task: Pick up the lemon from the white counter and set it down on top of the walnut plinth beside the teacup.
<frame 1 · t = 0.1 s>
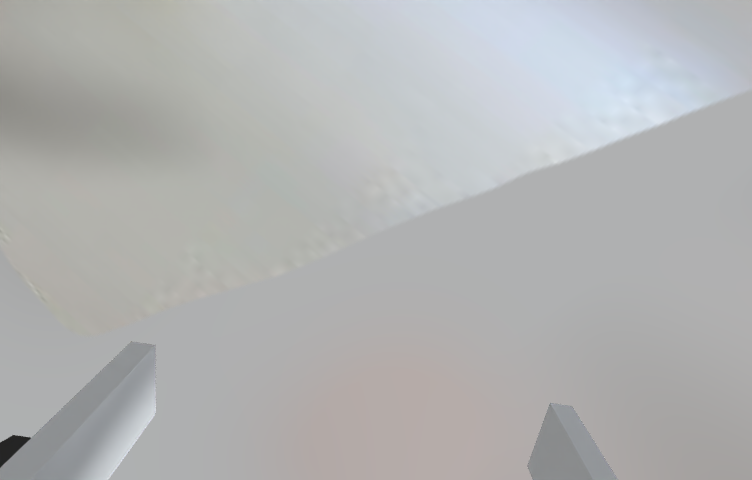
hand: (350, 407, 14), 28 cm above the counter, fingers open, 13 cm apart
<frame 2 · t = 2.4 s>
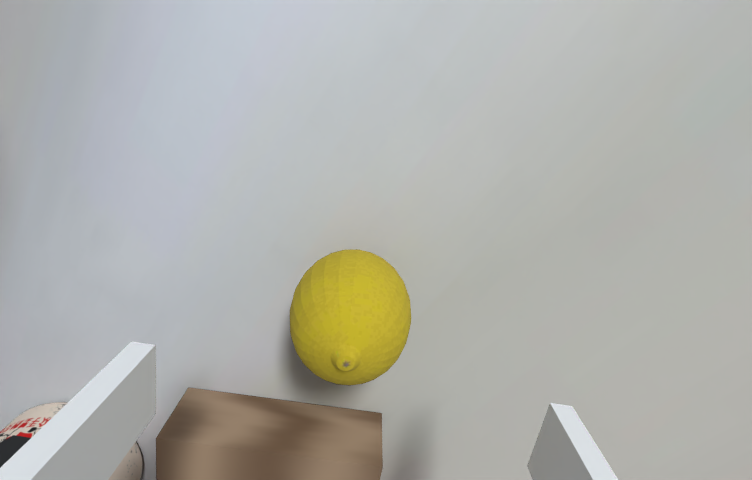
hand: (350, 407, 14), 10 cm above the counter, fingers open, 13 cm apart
walnut plinth: (277, 473, 28), on the counter
lemon: (355, 275, 23), on the counter
teacup with lid: (58, 450, 28), on the counter
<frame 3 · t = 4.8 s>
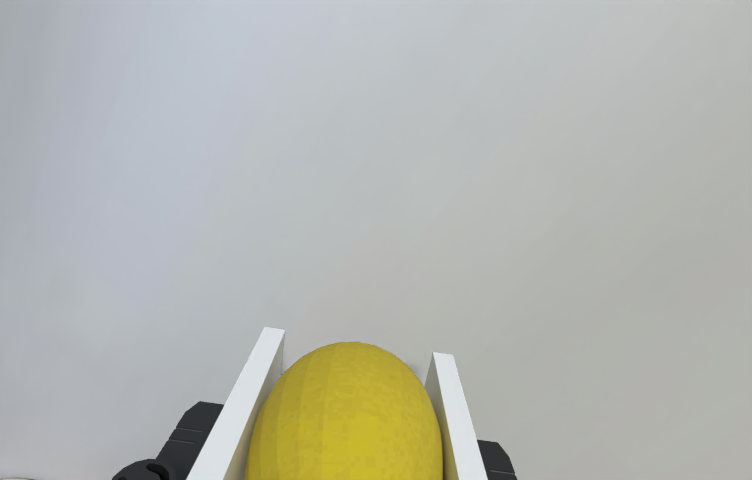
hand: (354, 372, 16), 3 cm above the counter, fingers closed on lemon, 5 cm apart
lemon: (355, 363, 16), point 3 cm above the counter, touching gripper
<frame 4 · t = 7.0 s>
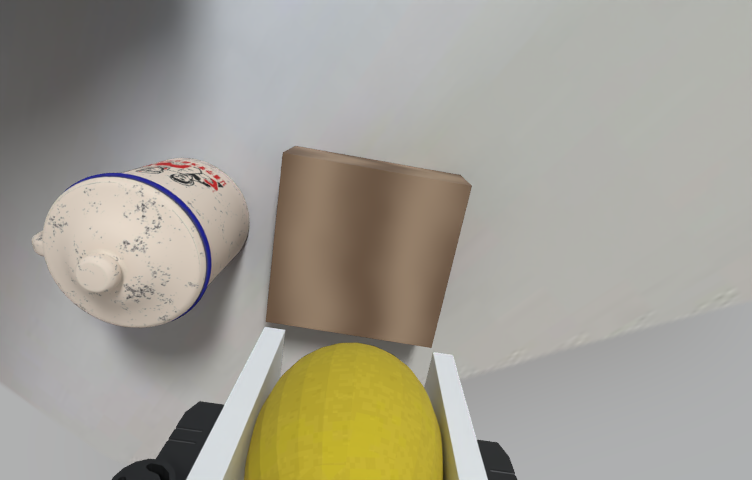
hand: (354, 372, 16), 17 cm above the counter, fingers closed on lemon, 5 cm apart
walnut plinth: (364, 238, 32), on the counter
lemon: (355, 363, 16), point 16 cm above the counter, touching gripper
teacup with lid: (175, 214, 32), on the counter
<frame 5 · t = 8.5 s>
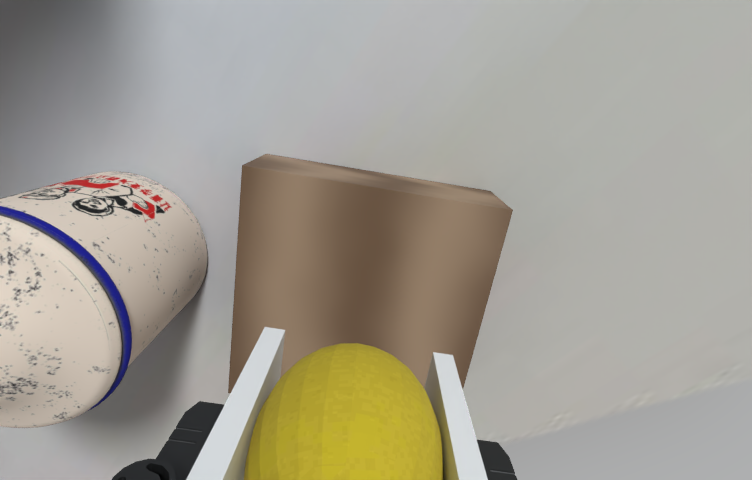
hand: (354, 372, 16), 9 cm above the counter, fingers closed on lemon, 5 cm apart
walnut plinth: (362, 275, 24), on the counter
lemon: (355, 364, 16), point 8 cm above the counter, touching gripper
teacup with lid: (110, 246, 24), on the counter
when the fingers open (5 cm above the counter, at t = 9.6 s): lemon stays where it is, resting on walnut plinth.
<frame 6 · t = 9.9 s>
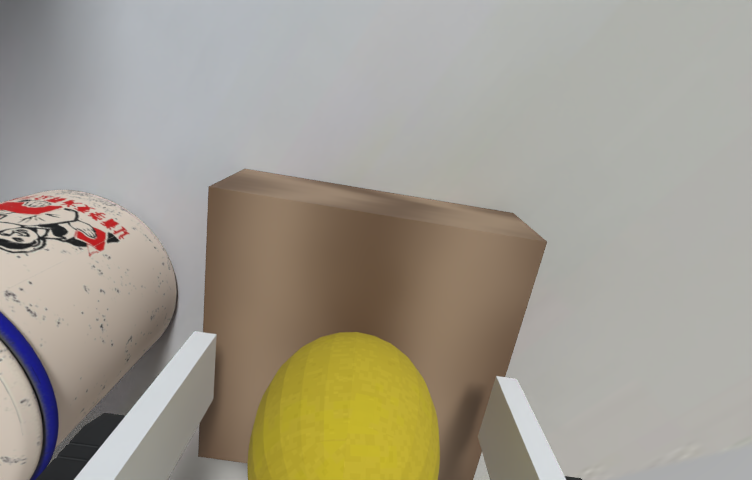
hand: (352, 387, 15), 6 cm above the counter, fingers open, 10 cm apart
walnut plinth: (360, 311, 20), on the counter
lemon: (354, 355, 17), point 4 cm above the counter, touching walnut plinth
teacup with lid: (62, 276, 20), on the counter
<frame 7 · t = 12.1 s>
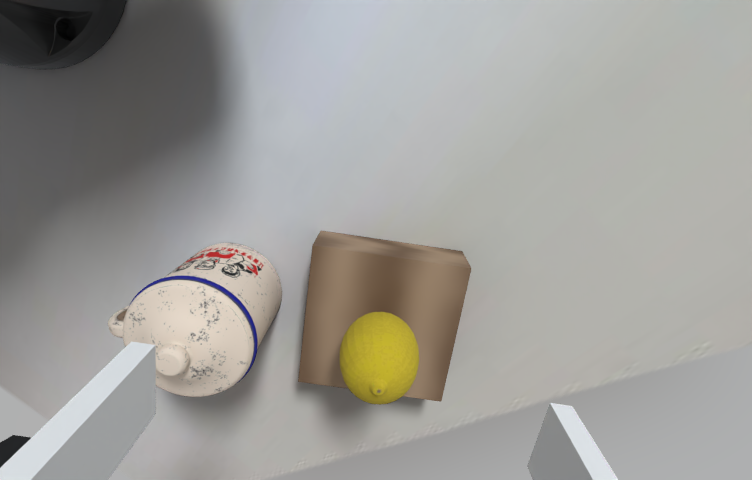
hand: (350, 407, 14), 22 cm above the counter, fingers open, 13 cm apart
walnut plinth: (381, 305, 37), on the counter
lemon: (380, 325, 33), point 4 cm above the counter, touching walnut plinth
teacup with lid: (218, 288, 37), on the counter
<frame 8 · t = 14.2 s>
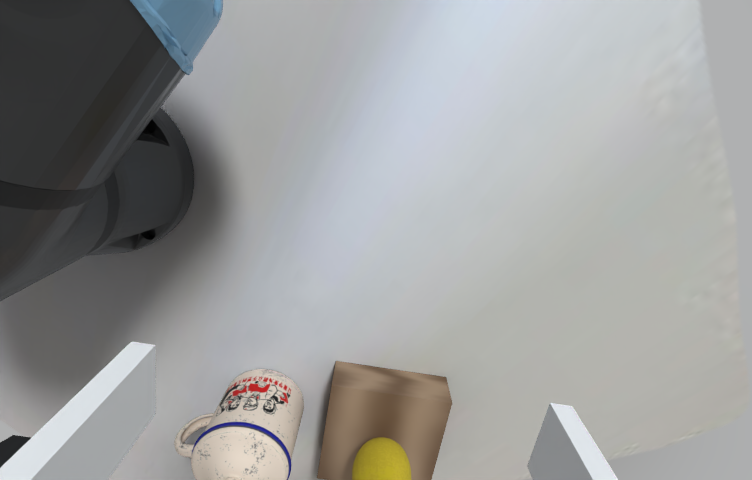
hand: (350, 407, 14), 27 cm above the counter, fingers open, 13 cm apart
walnut plinth: (381, 414, 47), on the counter
lemon: (381, 439, 43), point 4 cm above the counter, touching walnut plinth
teacup with lid: (253, 399, 47), on the counter
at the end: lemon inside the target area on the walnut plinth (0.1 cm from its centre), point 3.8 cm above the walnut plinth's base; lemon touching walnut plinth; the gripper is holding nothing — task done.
